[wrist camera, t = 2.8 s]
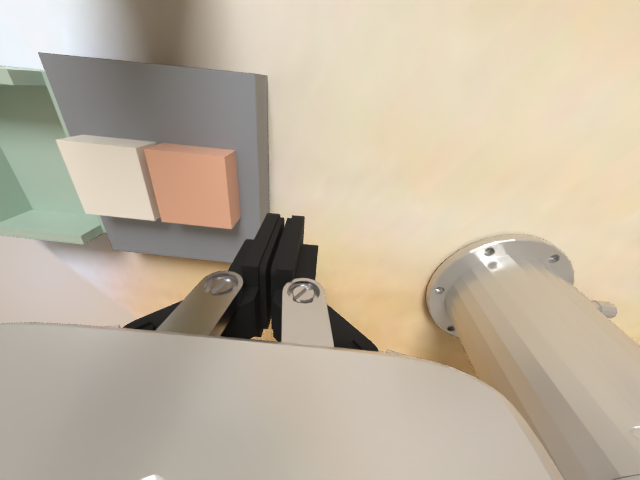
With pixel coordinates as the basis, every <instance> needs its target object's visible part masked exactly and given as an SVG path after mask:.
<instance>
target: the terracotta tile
mask: <svg viewBox="0 0 640 480" xmlns="http://www.w3.org/2000/svg"><path fill="white" fill-rule="evenodd" d="M144 153H145V157H146V161H147V165H148V169H149V173H150V177H151V181H152V185H153V189H154V193H155V197H156V201H157V205H158V209H159V213H160V217H161V221H162V222H169V223H178V224H188V225H197V226H206V227H216V228H225V229H232V228H233V227H234V225H235V224H236V223H237V221H238V220H239V219H240V218H241V212H240V199H239V186H238V173H237V161H236V150H228V149H218V148H209V147H199V146H189V145H179V144H170V143H160V144H157V145H154V146H151V147H147V148H144Z"/></svg>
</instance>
